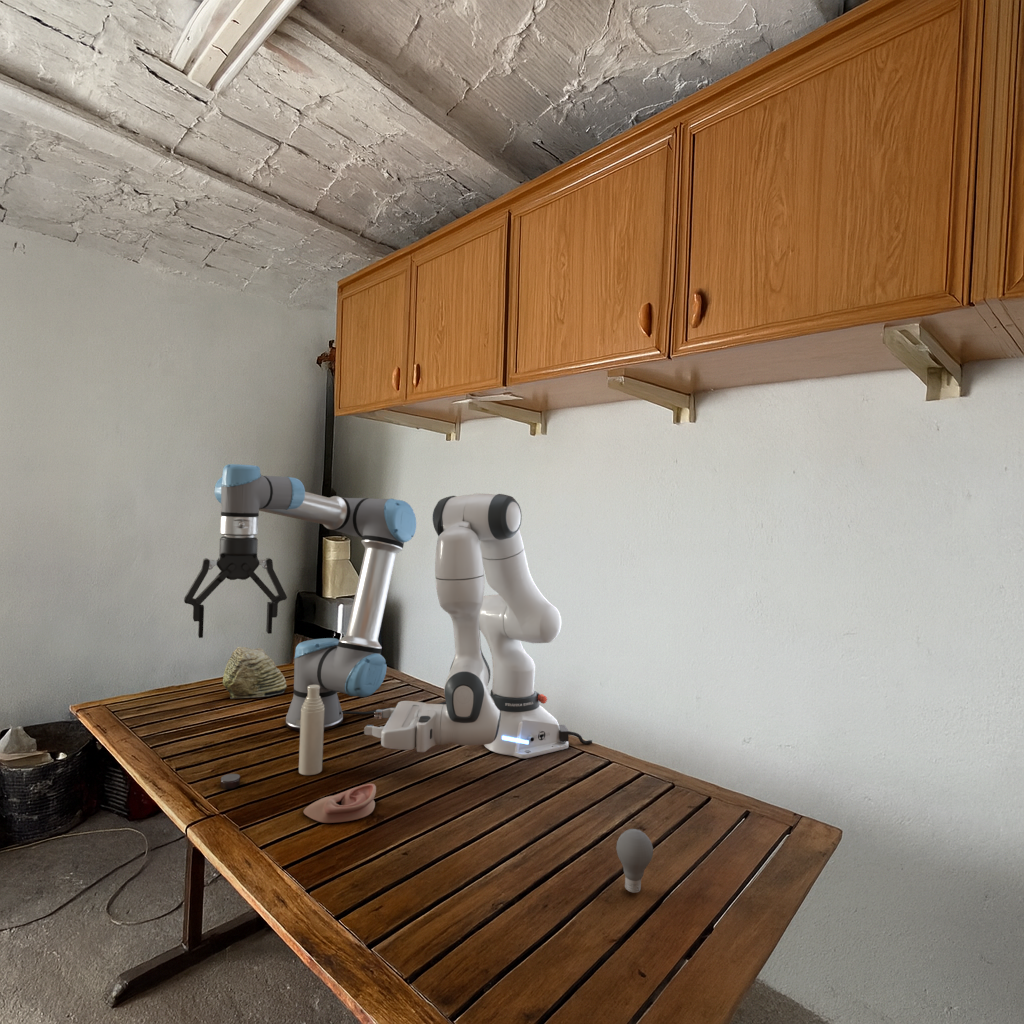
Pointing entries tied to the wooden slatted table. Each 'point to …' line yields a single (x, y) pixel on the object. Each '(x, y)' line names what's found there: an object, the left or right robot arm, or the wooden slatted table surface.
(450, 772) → the wooden slatted table surface
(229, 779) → the cap
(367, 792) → the anatomical model
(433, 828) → the wooden slatted table surface
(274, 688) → the fossil
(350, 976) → the wooden slatted table surface
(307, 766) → the bottle
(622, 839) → the light bulb
